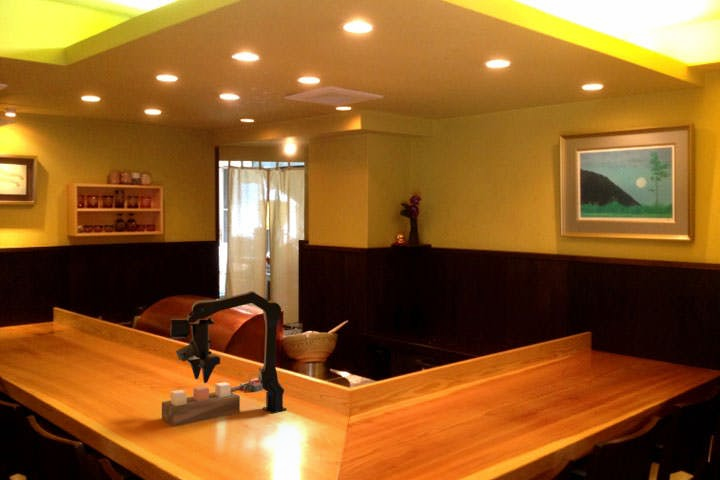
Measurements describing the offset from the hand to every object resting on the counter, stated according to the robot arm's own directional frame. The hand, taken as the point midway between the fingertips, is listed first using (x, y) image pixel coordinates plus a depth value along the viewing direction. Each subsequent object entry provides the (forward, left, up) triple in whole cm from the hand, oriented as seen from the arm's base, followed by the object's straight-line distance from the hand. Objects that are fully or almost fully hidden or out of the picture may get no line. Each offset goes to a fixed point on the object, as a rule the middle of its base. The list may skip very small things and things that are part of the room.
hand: (201, 380), depth 246 cm
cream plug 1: (0, +8, -8) cm, 12 cm away
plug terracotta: (0, 0, -8) cm, 8 cm away
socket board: (0, 0, -12) cm, 13 cm away
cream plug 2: (0, -9, -8) cm, 12 cm away
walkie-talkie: (+20, -32, -13) cm, 40 cm away
